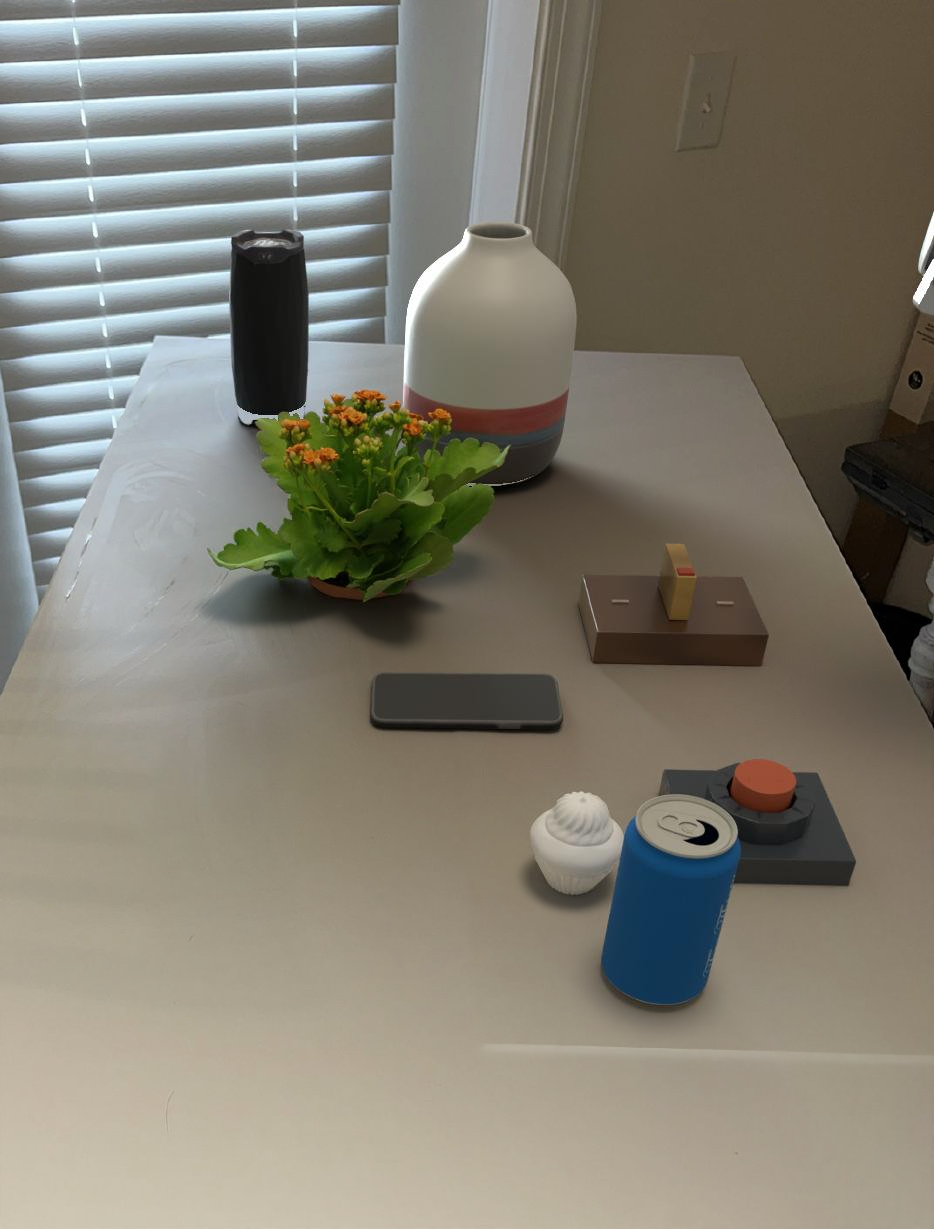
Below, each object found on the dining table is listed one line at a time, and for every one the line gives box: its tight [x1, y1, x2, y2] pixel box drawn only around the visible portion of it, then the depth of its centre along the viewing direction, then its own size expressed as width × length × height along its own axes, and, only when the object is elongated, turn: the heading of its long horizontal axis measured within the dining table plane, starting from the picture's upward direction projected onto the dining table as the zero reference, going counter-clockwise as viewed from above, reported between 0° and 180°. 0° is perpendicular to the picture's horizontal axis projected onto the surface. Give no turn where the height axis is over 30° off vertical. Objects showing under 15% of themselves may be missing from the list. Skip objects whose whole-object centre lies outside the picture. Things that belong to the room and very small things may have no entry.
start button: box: [730, 758, 796, 813], centre depth 91 cm, size 4×4×2 cm
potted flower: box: [206, 389, 511, 603], centre depth 119 cm, size 25×24×18 cm
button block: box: [658, 762, 857, 887], centre depth 92 cm, size 11×10×4 cm
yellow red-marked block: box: [658, 543, 697, 620], centre depth 112 cm, size 6×2×4 cm, turn 177°
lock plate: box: [578, 574, 770, 667], centre depth 114 cm, size 14×10×3 cm
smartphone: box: [369, 671, 564, 730], centre depth 106 cm, size 7×1×15 cm
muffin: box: [529, 790, 625, 896], centre depth 88 cm, size 6×6×7 cm
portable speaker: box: [228, 229, 310, 415], centre depth 148 cm, size 9×9×20 cm
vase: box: [402, 221, 578, 484], centre depth 136 cm, size 17×17×24 cm
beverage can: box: [600, 794, 741, 1006], centre depth 79 cm, size 6×6×12 cm
